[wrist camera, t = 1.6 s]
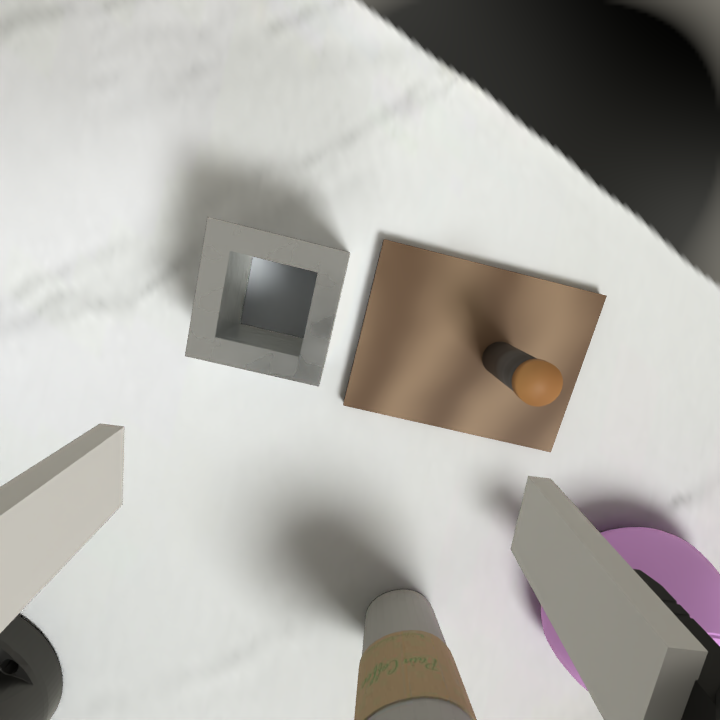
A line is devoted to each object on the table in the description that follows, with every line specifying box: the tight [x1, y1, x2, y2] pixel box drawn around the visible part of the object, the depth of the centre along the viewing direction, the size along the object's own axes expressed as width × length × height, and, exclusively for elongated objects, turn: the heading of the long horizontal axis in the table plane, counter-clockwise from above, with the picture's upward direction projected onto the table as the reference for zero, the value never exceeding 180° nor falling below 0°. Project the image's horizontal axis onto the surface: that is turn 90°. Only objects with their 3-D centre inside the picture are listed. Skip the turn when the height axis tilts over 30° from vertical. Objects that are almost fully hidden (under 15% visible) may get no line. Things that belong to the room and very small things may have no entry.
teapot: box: [541, 527, 720, 691], centre depth 32 cm, size 14×20×11 cm
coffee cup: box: [354, 589, 477, 720], centre depth 30 cm, size 9×9×15 cm
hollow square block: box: [185, 217, 350, 386], centre depth 28 cm, size 8×8×6 cm
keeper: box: [343, 239, 606, 452], centre depth 28 cm, size 16×12×8 cm
